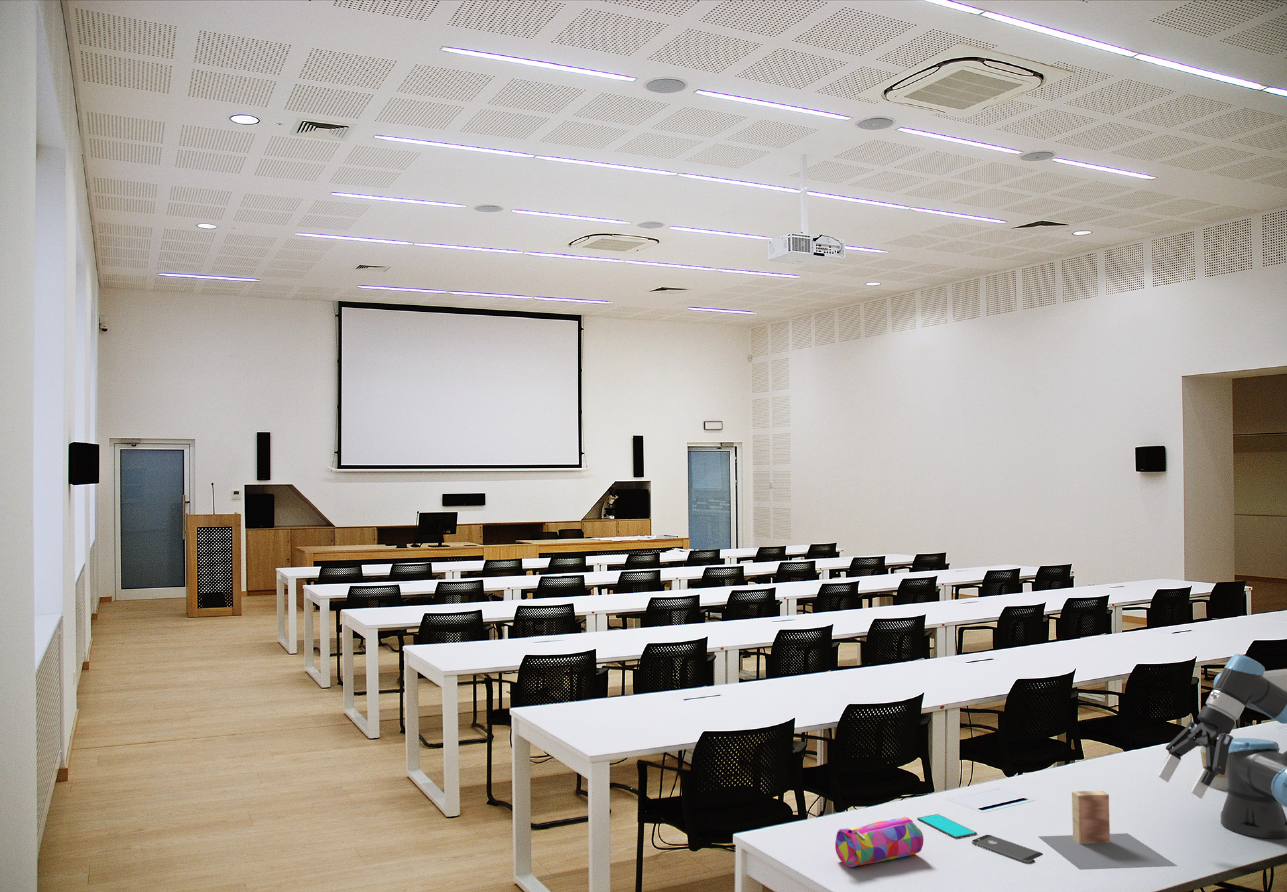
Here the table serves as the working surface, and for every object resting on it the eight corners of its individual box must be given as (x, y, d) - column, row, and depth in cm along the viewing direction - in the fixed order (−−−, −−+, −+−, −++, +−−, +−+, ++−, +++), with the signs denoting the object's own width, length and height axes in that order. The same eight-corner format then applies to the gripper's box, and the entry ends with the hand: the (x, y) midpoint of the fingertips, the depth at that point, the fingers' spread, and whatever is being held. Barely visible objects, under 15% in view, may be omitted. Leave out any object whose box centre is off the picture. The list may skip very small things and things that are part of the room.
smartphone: (955, 837, 238) (916, 817, 252) (955, 840, 238) (916, 820, 251) (977, 832, 241) (938, 813, 254) (977, 836, 241) (938, 816, 254)
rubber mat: (1127, 835, 239) (1127, 833, 239) (1177, 868, 219) (1177, 865, 219) (1037, 838, 237) (1037, 836, 237) (1079, 871, 217) (1079, 869, 218)
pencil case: (854, 875, 217) (853, 836, 217) (830, 860, 225) (830, 823, 226) (927, 859, 226) (926, 821, 226) (901, 845, 234) (901, 809, 234)
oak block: (1103, 837, 236) (1102, 790, 236) (1110, 843, 233) (1109, 794, 233) (1073, 839, 236) (1071, 791, 236) (1079, 844, 232) (1078, 795, 233)
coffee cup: (1237, 784, 278) (1236, 734, 278) (1237, 793, 269) (1236, 742, 270) (1199, 778, 283) (1198, 729, 284) (1198, 788, 275) (1197, 737, 275)
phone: (1045, 857, 226) (987, 837, 239) (1045, 853, 226) (987, 833, 239) (1027, 865, 222) (969, 844, 235) (1027, 861, 222) (969, 840, 235)
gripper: (1177, 695, 243) (1137, 765, 241) (1240, 715, 218) (1196, 793, 216) (1201, 710, 243) (1162, 780, 241) (1267, 732, 218) (1224, 811, 216)
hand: (1178, 787), depth 229 cm, fingers open, 13 cm apart
